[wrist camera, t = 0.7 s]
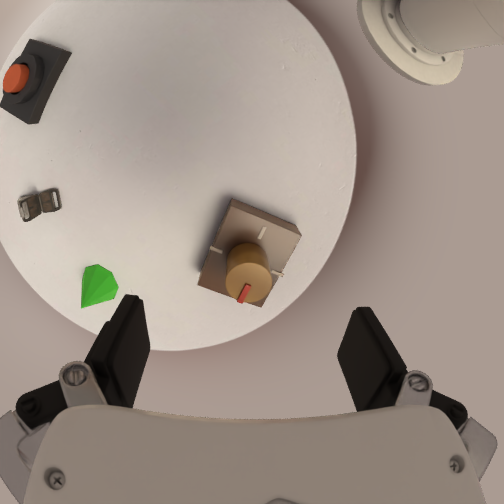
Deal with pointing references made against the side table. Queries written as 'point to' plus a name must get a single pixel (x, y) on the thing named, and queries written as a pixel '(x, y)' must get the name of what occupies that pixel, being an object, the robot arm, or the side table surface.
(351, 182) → the side table surface
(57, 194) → the strap clip
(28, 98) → the button box
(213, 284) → the panel
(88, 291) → the gemstone
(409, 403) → the robot arm
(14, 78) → the button
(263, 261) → the knob
